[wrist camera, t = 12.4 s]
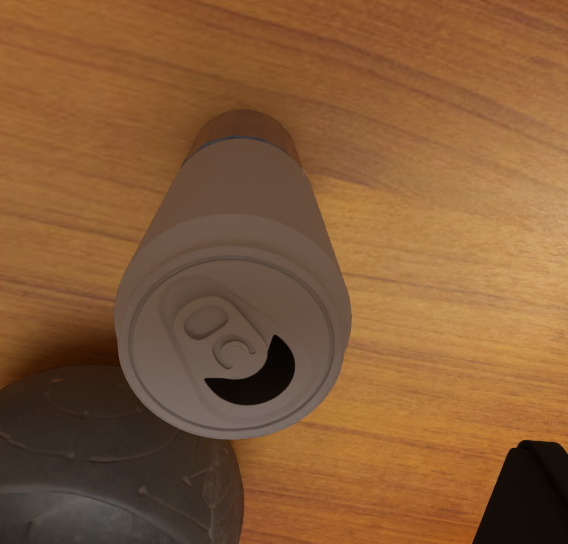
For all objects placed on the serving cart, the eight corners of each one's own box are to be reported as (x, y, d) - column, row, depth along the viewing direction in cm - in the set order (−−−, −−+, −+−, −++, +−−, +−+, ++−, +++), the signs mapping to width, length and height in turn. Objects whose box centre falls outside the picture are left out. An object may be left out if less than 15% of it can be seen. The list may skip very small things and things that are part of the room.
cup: (193, 102, 30) (174, 127, 23) (304, 116, 31) (320, 145, 23) (187, 209, 33) (168, 262, 25) (290, 220, 33) (299, 275, 26)
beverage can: (229, 295, 26) (210, 489, 15) (139, 189, 24) (43, 330, 13) (340, 222, 25) (407, 376, 14) (258, 102, 23) (261, 177, 12)
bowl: (223, 529, 44) (211, 709, 32) (-12, 502, 41) (-114, 687, 30) (267, 343, 37) (274, 489, 25) (-12, 298, 34) (-146, 437, 23)
